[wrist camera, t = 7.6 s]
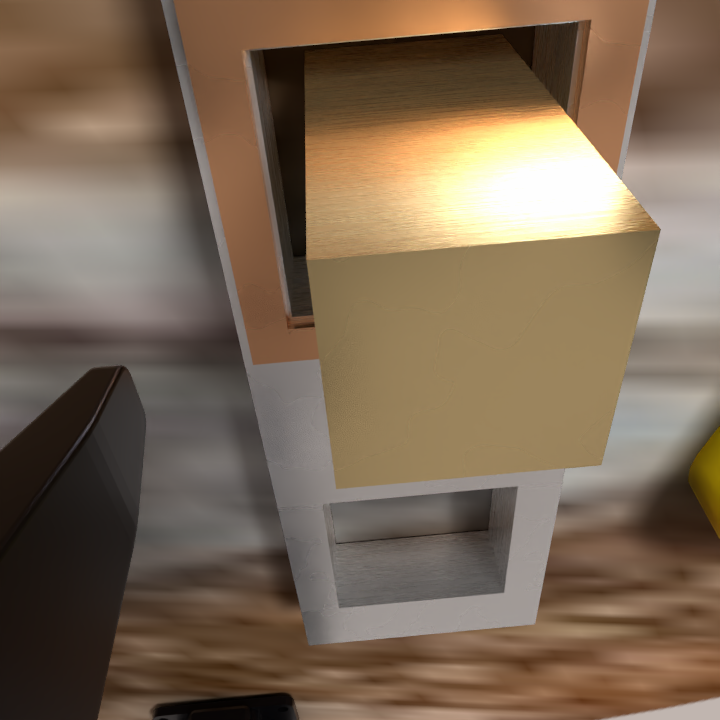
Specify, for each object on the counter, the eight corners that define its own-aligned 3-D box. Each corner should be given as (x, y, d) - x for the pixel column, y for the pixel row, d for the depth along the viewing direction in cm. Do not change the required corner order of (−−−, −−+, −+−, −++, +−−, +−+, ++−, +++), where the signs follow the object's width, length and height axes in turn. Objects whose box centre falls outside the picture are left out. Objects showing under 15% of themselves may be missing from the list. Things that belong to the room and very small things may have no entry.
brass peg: (489, 212, 16) (600, 465, 10) (323, 226, 16) (336, 488, 10) (501, 34, 14) (660, 229, 8) (304, 50, 14) (306, 259, 8)
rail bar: (517, 562, 26) (537, 632, 24) (308, 582, 26) (308, 653, 24) (624, -163, 12) (695, -153, 10) (163, -123, 12) (132, -103, 10)
